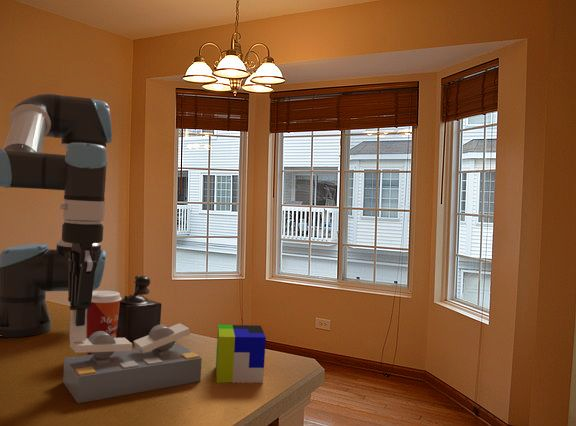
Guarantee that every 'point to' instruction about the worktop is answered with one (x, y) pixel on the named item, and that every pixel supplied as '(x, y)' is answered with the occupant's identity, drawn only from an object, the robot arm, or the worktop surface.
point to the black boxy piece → (138, 312)
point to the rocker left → (101, 345)
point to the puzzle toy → (240, 354)
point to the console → (129, 372)
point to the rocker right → (161, 337)
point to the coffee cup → (103, 313)
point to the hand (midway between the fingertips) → (77, 340)
